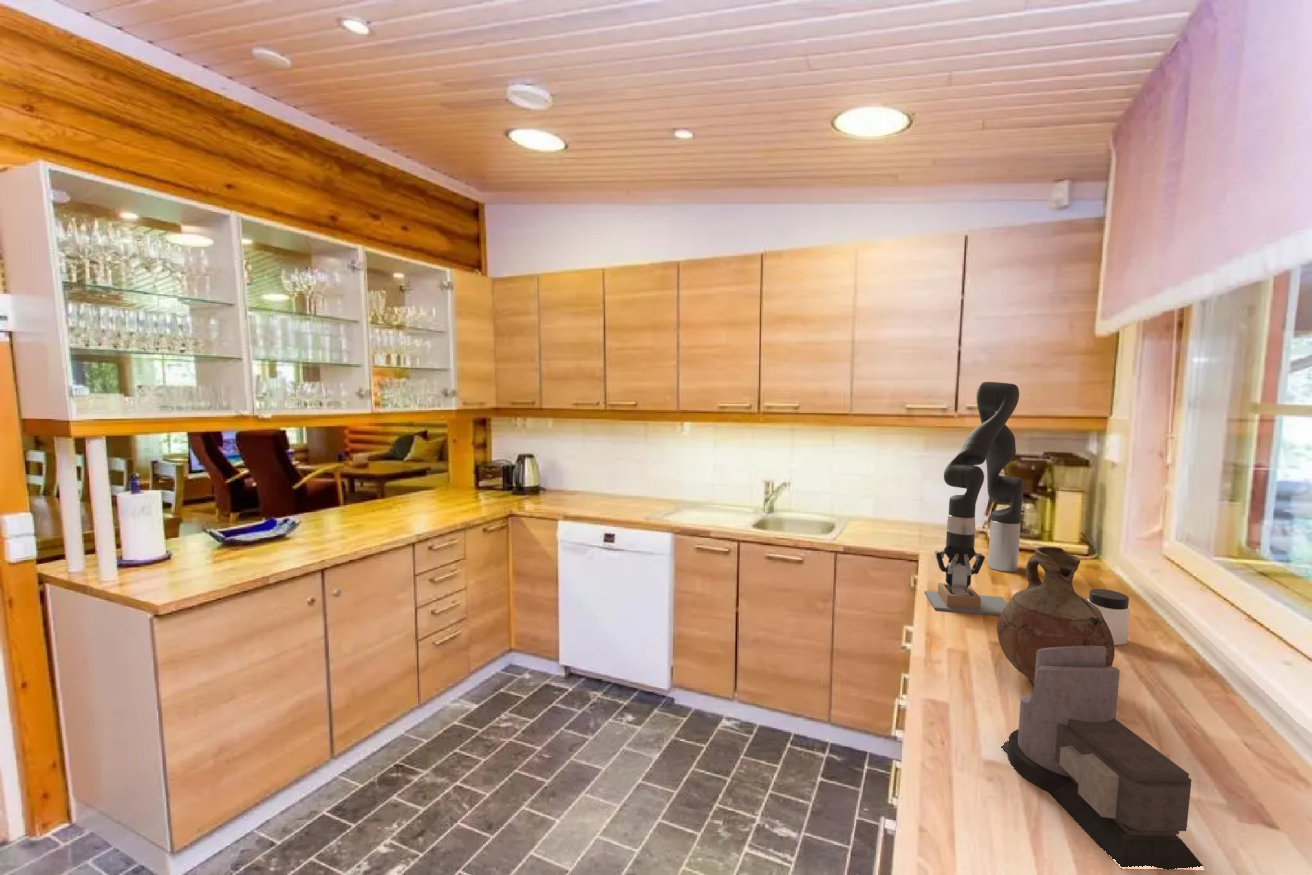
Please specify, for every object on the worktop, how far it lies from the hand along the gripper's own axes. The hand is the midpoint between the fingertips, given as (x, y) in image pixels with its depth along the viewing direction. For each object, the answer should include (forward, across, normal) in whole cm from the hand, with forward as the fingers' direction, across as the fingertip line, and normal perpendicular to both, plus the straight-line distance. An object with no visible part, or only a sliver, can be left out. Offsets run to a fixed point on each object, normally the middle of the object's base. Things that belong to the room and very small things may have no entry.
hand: (957, 585), depth 177 cm
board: (+5, -3, +2) cm, 6 cm away
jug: (+5, -7, +48) cm, 48 cm away
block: (+3, 0, +2) cm, 4 cm away
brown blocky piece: (+5, +2, +86) cm, 86 cm away
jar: (+5, -31, +18) cm, 36 cm away
